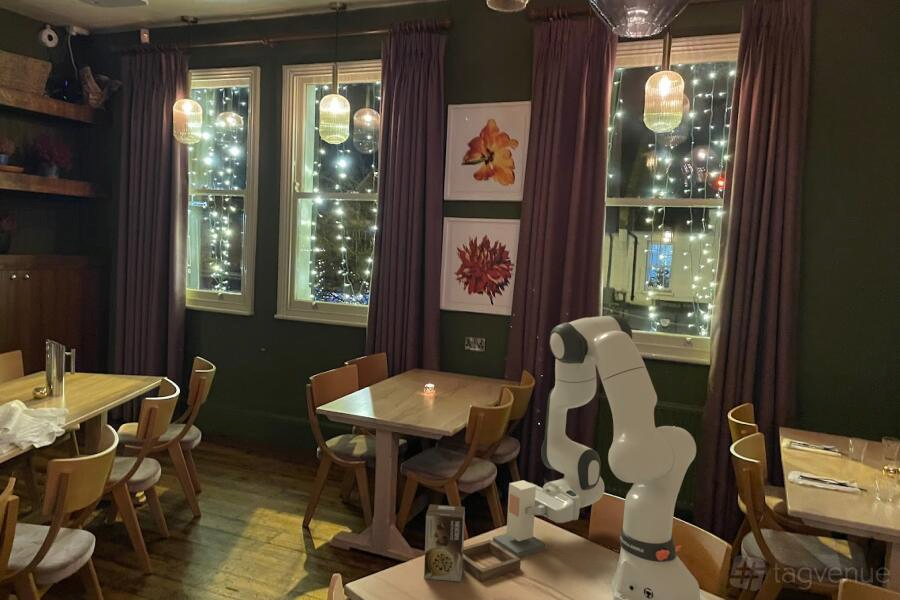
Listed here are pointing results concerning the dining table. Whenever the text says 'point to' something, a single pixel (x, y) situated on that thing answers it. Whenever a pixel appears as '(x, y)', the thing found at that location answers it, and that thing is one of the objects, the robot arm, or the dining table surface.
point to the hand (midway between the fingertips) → (518, 507)
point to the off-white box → (520, 510)
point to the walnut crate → (495, 570)
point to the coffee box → (444, 542)
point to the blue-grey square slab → (519, 545)
